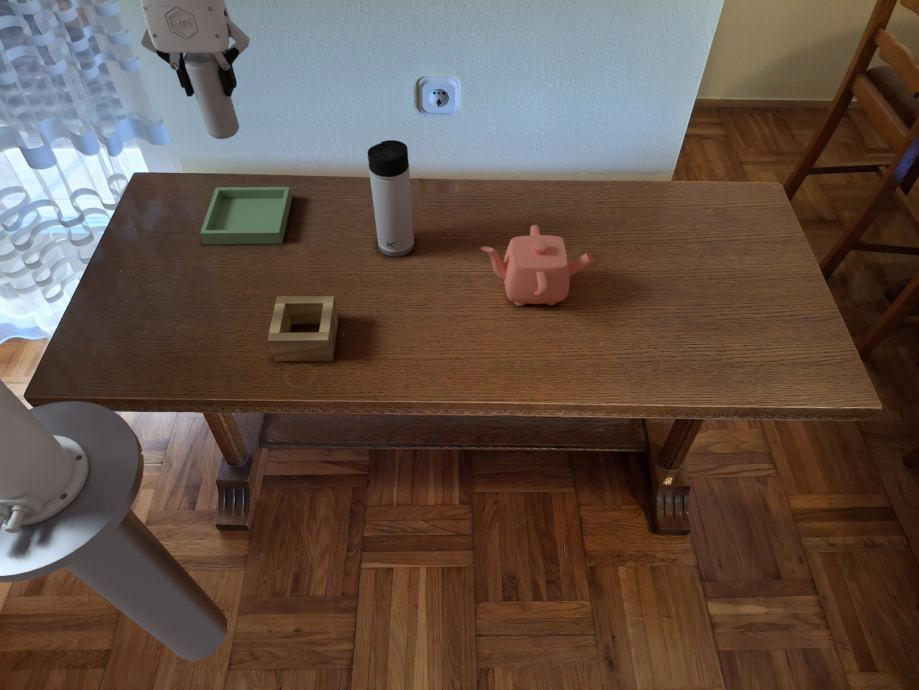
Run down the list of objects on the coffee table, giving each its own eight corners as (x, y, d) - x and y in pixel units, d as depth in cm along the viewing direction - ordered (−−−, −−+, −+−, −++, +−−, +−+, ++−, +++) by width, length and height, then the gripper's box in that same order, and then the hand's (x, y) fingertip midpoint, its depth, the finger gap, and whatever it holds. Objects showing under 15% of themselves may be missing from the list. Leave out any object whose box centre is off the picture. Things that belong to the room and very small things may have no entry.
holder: (333, 360, 99) (328, 339, 95) (274, 361, 98) (267, 340, 95) (338, 317, 104) (334, 295, 100) (283, 317, 104) (276, 296, 100)
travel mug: (394, 263, 112) (385, 165, 96) (371, 244, 115) (358, 145, 99) (422, 246, 114) (417, 148, 99) (398, 228, 117) (390, 130, 102)
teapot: (539, 251, 114) (545, 205, 106) (590, 289, 108) (600, 244, 100) (478, 289, 108) (479, 244, 100) (528, 332, 102) (533, 287, 95)
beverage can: (214, 144, 98) (189, 67, 89) (203, 128, 101) (177, 53, 92) (245, 134, 100) (223, 58, 91) (233, 119, 103) (211, 44, 93)
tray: (282, 243, 115) (279, 232, 113) (204, 244, 115) (199, 233, 112) (292, 198, 123) (289, 186, 121) (219, 198, 122) (215, 187, 120)
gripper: (90, -32, 79) (145, 105, 93) (231, -32, 79) (265, 105, 93) (110, -57, 83) (160, 78, 98) (243, -56, 84) (274, 78, 98)
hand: (211, 90), depth 95 cm, fingers closed on beverage can, 4 cm apart
